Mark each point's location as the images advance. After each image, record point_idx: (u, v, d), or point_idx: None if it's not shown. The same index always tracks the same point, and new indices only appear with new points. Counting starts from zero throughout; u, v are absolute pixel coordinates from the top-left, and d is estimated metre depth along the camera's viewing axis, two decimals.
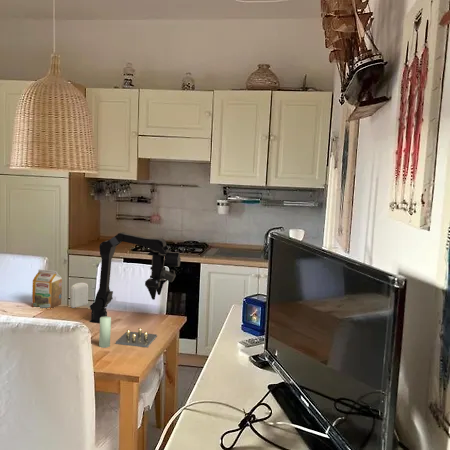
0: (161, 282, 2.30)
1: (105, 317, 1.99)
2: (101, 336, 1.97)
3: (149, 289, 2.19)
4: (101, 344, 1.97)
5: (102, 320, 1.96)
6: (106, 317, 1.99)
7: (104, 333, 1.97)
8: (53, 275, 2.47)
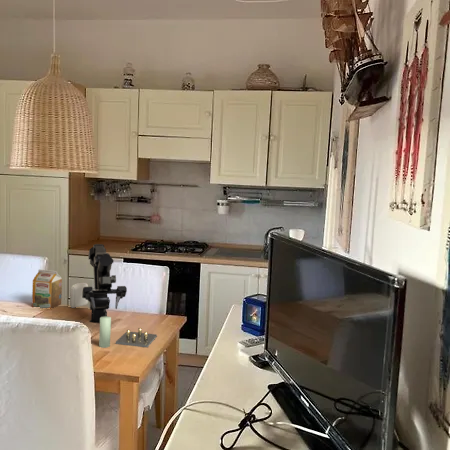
0: (116, 295, 2.10)
1: (105, 317, 1.99)
2: (101, 336, 1.97)
3: (89, 301, 2.08)
4: (101, 344, 1.97)
5: (102, 320, 1.96)
6: (106, 317, 1.99)
7: (104, 333, 1.97)
8: (53, 275, 2.47)
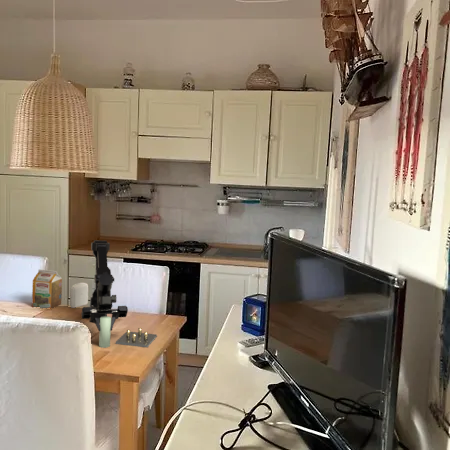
0: (112, 316, 2.01)
1: (105, 317, 1.99)
2: (101, 336, 1.97)
3: (94, 321, 2.00)
4: (101, 344, 1.97)
5: (102, 320, 1.96)
6: (106, 317, 1.99)
7: (104, 333, 1.97)
8: (53, 275, 2.47)
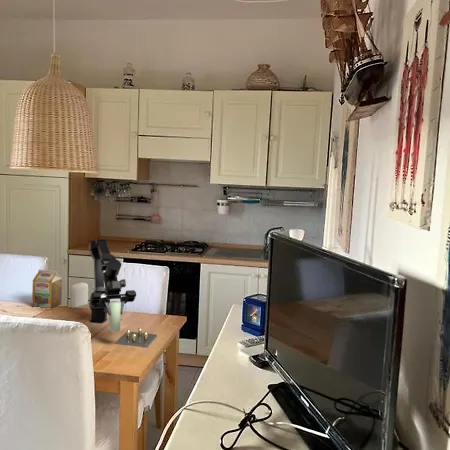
0: (121, 300, 2.03)
1: (115, 301, 2.00)
2: (112, 320, 1.98)
3: (103, 306, 2.01)
4: (112, 328, 1.98)
5: (113, 304, 1.97)
6: (116, 301, 2.00)
7: (115, 317, 1.98)
8: (53, 275, 2.47)
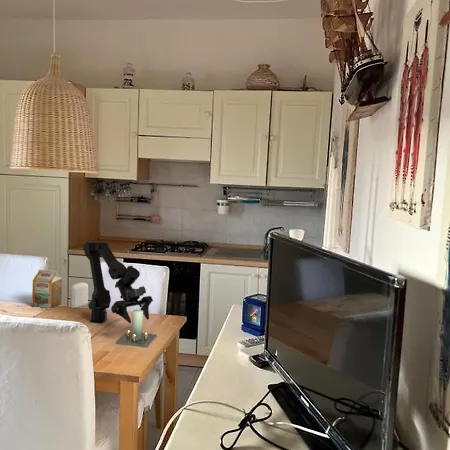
0: (144, 306, 2.12)
1: (137, 310, 2.07)
2: (136, 329, 2.06)
3: (121, 315, 2.05)
4: (136, 336, 2.06)
5: (137, 313, 2.05)
6: (137, 310, 2.08)
7: (139, 326, 2.06)
8: (53, 275, 2.47)
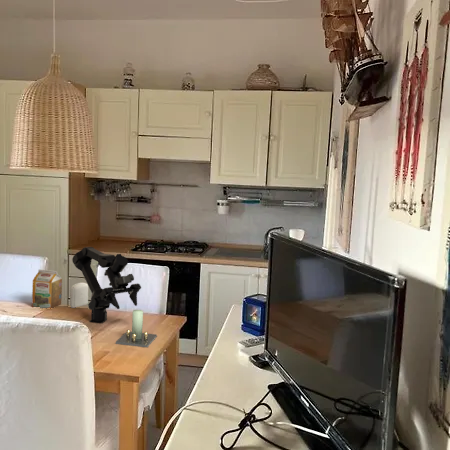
0: (132, 293, 2.18)
1: (137, 310, 2.08)
2: (136, 329, 2.06)
3: (110, 301, 2.11)
4: (136, 336, 2.06)
5: (137, 313, 2.05)
6: (137, 310, 2.08)
7: (139, 326, 2.06)
8: (53, 275, 2.47)
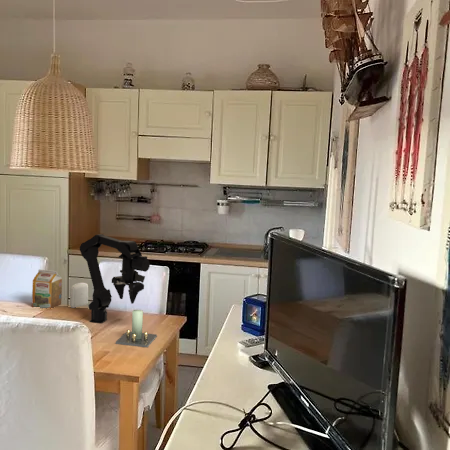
0: (122, 285, 2.25)
1: (136, 310, 2.08)
2: (136, 329, 2.06)
3: (131, 294, 2.16)
4: (136, 336, 2.06)
5: (137, 313, 2.05)
6: (137, 310, 2.08)
7: (139, 326, 2.06)
8: (53, 275, 2.47)
